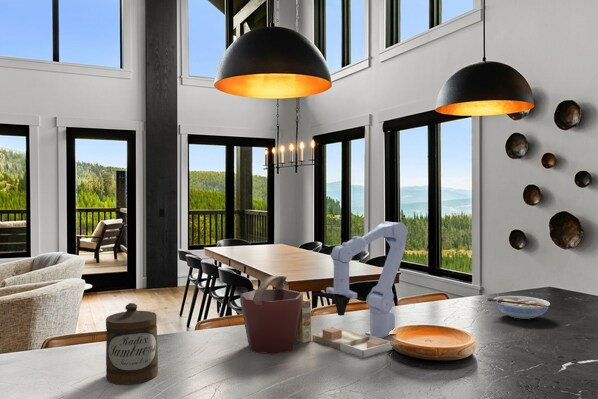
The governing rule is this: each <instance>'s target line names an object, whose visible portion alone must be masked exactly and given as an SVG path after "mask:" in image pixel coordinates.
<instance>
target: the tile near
mask: <svg viewBox="0 0 598 399" xmlns="http://www.w3.org/2000/svg"><path fill="white" fill-rule="evenodd" d="M384 340H385V339H384ZM384 340H380V339H377V338H376V339H372V340H369V341H367V348H371V347H375V346H378V345H382V344H386V343H387V341H384Z"/></svg>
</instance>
